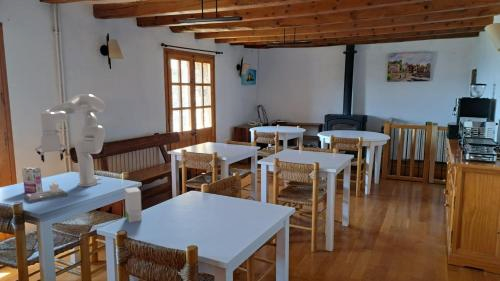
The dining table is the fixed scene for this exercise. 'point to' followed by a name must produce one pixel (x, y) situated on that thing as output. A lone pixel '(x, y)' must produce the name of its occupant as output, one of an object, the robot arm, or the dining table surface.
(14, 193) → the dining table surface
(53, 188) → the fader knob
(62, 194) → the console
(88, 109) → the robot arm
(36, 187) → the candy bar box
